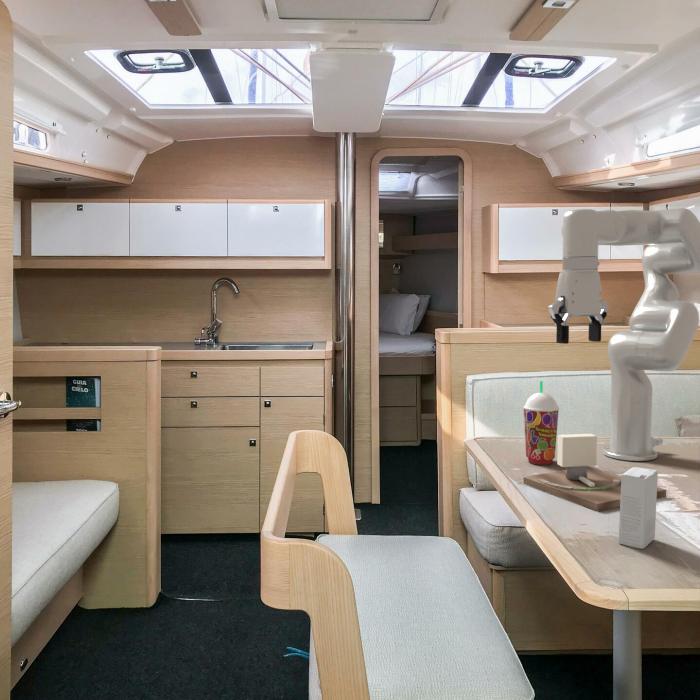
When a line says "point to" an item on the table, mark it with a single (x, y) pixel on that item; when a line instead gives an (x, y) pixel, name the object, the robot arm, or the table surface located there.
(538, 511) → the table surface
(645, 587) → the table surface
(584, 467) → the pointer knob
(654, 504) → the skincare box
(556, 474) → the tuner board
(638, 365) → the robot arm
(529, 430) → the smoothie
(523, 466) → the table surface
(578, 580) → the table surface
